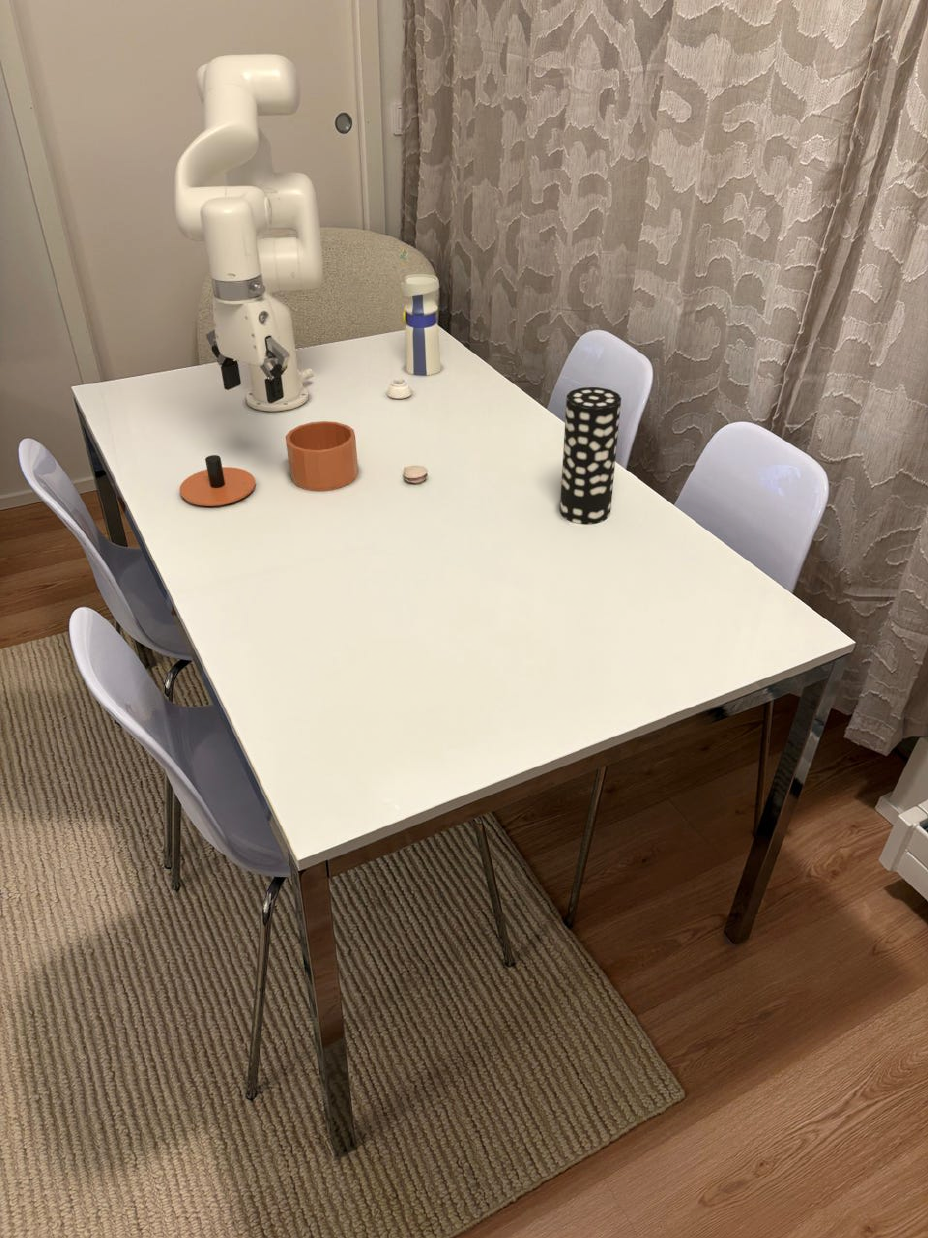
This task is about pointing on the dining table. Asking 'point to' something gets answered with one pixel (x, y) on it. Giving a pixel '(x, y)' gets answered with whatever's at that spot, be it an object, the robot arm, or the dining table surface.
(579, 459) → the white-spotted black cylinder
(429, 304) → the water bottle
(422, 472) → the macaroon
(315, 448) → the orange hollow cylinder
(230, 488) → the lid
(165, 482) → the dining table surface
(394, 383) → the white jar
